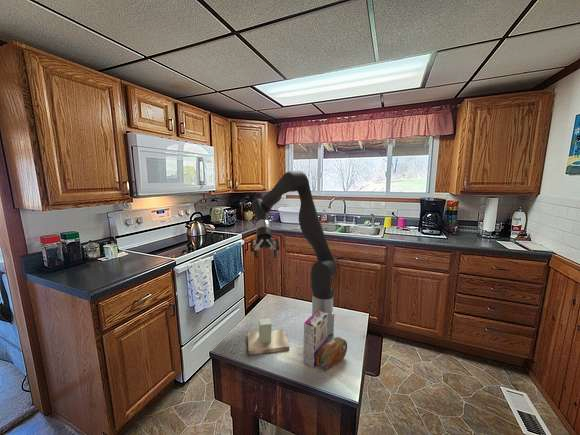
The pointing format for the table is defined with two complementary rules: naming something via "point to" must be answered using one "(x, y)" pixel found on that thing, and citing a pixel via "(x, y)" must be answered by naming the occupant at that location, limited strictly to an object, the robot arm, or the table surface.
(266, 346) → the birch board
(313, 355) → the candy bar box
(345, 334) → the table surface
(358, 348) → the table surface
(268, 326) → the sage block
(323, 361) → the tin
